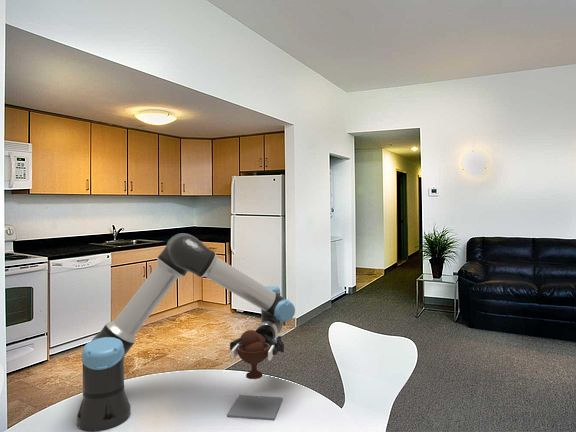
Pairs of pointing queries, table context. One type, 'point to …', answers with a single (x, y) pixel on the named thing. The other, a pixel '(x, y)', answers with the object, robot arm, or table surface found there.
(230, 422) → the table surface
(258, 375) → the ice cream bowl
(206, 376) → the table surface
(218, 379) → the table surface
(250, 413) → the slate mat
